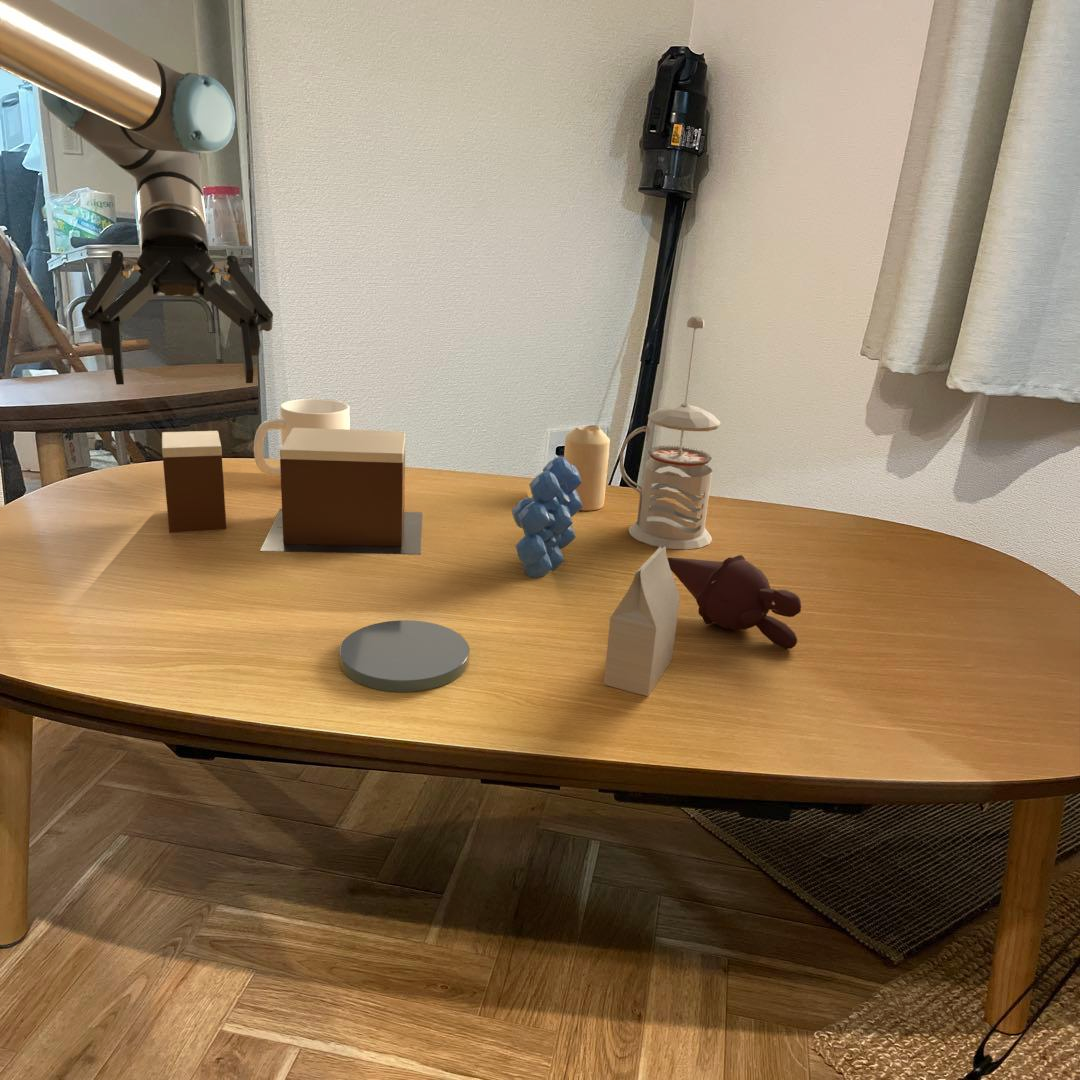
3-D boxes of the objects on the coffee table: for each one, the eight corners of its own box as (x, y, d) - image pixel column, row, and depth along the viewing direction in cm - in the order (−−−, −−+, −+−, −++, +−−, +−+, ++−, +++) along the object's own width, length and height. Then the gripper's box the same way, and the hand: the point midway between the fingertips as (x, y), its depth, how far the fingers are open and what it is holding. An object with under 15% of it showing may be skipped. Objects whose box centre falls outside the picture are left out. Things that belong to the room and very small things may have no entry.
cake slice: (170, 541, 93) (161, 448, 90) (169, 520, 99) (161, 432, 95) (226, 537, 95) (221, 446, 92) (223, 517, 101) (217, 430, 97)
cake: (283, 544, 92) (279, 449, 88) (295, 514, 100) (292, 427, 97) (401, 546, 93) (402, 453, 90) (404, 517, 102) (405, 431, 98)
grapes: (532, 547, 98) (539, 440, 94) (589, 560, 96) (599, 451, 92) (482, 582, 88) (487, 465, 84) (544, 598, 86) (553, 478, 82)
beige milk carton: (671, 660, 76) (686, 550, 72) (648, 696, 70) (662, 578, 66) (630, 649, 77) (642, 541, 73) (603, 684, 71) (615, 568, 68)
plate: (333, 692, 67) (332, 680, 67) (345, 629, 77) (345, 619, 77) (471, 692, 69) (472, 680, 68) (466, 630, 78) (467, 620, 78)
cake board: (260, 560, 90) (259, 550, 90) (280, 516, 102) (280, 508, 102) (420, 563, 92) (420, 554, 92) (422, 520, 104) (422, 512, 104)
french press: (712, 553, 100) (745, 325, 91) (609, 541, 102) (631, 315, 93) (711, 525, 109) (741, 315, 100) (616, 514, 111) (637, 306, 102)
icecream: (639, 545, 83) (776, 616, 73) (691, 513, 87) (827, 576, 77) (639, 604, 87) (769, 678, 77) (689, 571, 91) (818, 637, 81)
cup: (361, 489, 113) (360, 410, 110) (268, 502, 106) (264, 418, 103) (334, 472, 119) (332, 396, 116) (244, 483, 112) (240, 403, 109)
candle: (581, 494, 117) (587, 419, 114) (612, 505, 114) (620, 428, 110) (551, 502, 113) (557, 424, 110) (583, 514, 110) (590, 434, 106)
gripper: (279, 253, 115) (298, 393, 108) (61, 244, 106) (65, 397, 99) (282, 211, 109) (303, 357, 101) (51, 198, 100) (54, 357, 92)
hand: (185, 377), depth 100 cm, fingers open, 13 cm apart
